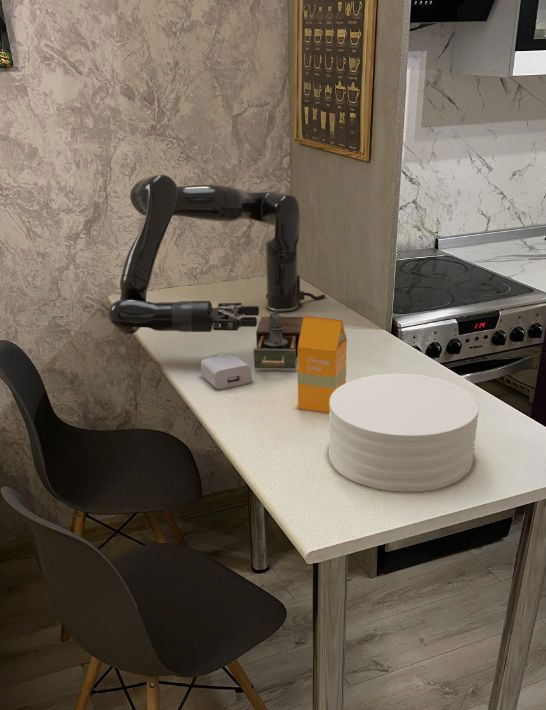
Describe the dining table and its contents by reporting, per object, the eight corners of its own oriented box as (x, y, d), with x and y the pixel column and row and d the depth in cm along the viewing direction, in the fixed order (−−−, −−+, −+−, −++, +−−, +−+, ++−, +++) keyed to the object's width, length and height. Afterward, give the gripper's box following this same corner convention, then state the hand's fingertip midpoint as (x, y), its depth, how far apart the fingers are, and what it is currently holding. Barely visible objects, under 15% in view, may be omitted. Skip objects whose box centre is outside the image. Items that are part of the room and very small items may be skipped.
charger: (226, 362, 192) (251, 382, 181) (192, 369, 188) (216, 390, 177) (225, 345, 190) (250, 364, 178) (191, 351, 186) (214, 371, 174)
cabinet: (300, 356, 195) (300, 332, 192) (257, 355, 196) (256, 331, 193) (303, 339, 206) (303, 316, 203) (262, 339, 207) (261, 316, 204)
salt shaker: (291, 357, 189) (290, 310, 183) (269, 361, 187) (268, 314, 181) (282, 349, 194) (281, 304, 188) (261, 353, 192) (259, 307, 186)
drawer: (294, 376, 182) (293, 357, 179) (252, 375, 182) (251, 357, 180) (298, 352, 196) (298, 334, 193) (259, 351, 196) (258, 334, 194)
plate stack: (405, 509, 131) (410, 451, 126) (299, 453, 150) (299, 400, 144) (501, 457, 147) (509, 403, 141) (395, 412, 165) (398, 363, 160)
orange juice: (335, 414, 165) (336, 325, 155) (297, 408, 168) (296, 321, 158) (345, 399, 171) (347, 314, 161) (309, 394, 174) (308, 310, 164)
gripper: (186, 310, 178) (255, 310, 178) (194, 293, 190) (258, 292, 190) (189, 341, 182) (256, 340, 181) (197, 321, 194) (260, 321, 194)
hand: (257, 316), depth 186 cm, fingers open, 8 cm apart
